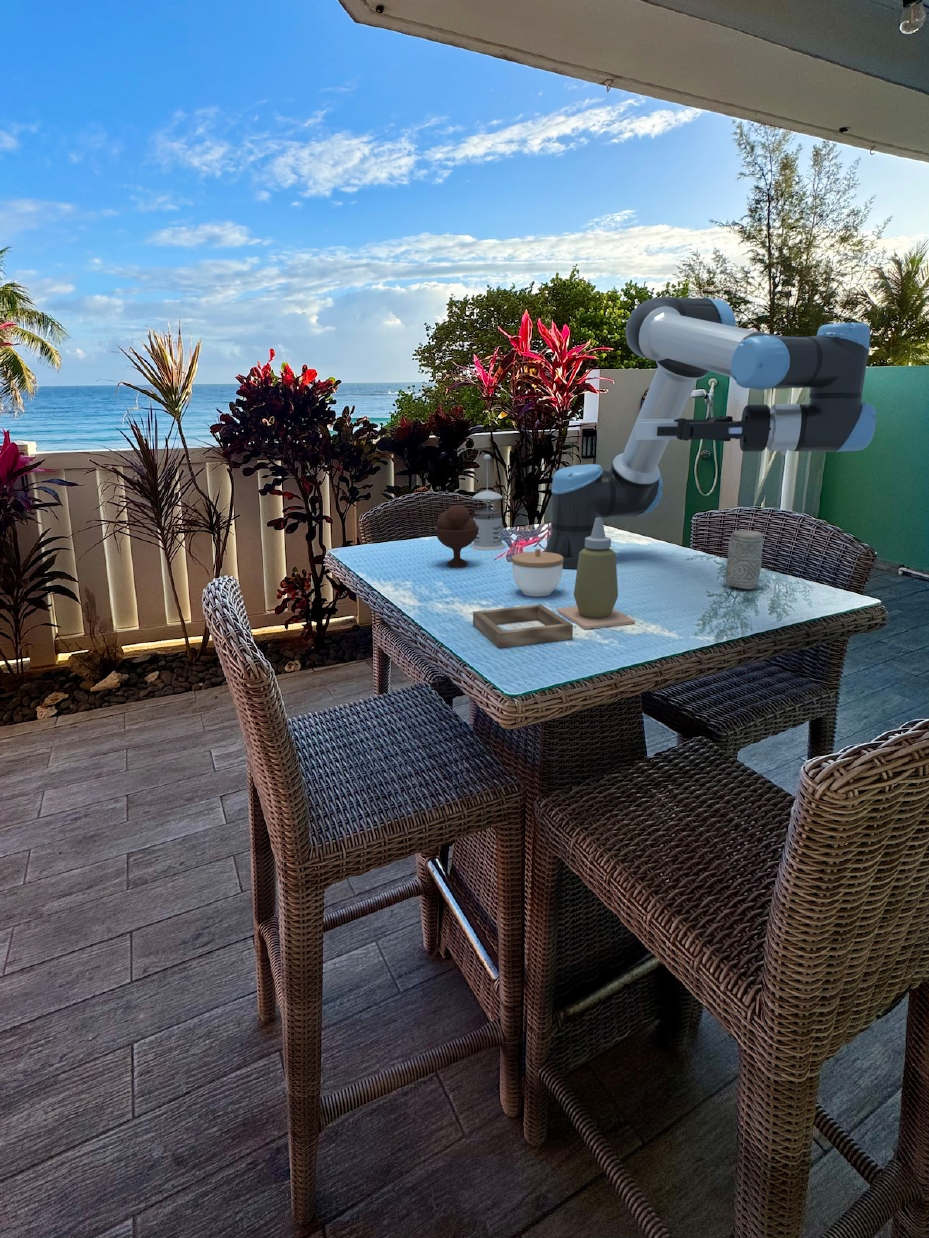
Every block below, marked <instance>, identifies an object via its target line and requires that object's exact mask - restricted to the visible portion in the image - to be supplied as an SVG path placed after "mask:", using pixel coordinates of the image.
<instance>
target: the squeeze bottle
mask: <svg viewBox="0 0 929 1238" xmlns="http://www.w3.org/2000/svg"><path fill="white" fill-rule="evenodd" d="M611 546H612V538H611V537H608V536H606V531H605V525H604V521H603V518H595V522H594V526H593V530H592V534H591V536H590V537H586V538H585V547H586V548H584V549H583V550H581V551H580V552H579V559H578V566H577V568H576V576H575V582H574V583H575V584H574V590H573V597H574V601H575V604H576V606H577V607H578V611H579V613H580V614H581V615H583V616H586V617H592V618H602V617H607V616H610V615H611V613H612V610H613V609H615V608H614V607H615V605H616V602H617V601H618V597H619V591H618V590H619V588H618V573H617V571H618V570H617V555H616V554H617V553H616V552H615V550H613V549H612V548H611Z"/></svg>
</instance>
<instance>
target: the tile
mask: <svg viewBox="0 0 929 1238" xmlns="http://www.w3.org/2000/svg"><path fill="white" fill-rule="evenodd" d="M556 612H557V613H558V614H559V615H561V616H563V617H564V616H565V617H564V618H566V619H567V620H569V619H570V620H569V621H571V622H572V621H573V622H572V623H574V624H575V623H576V624H575V625H577V624H578V625H577V626H579V627H580V626H581V627H580V628H581V629H583V628H584V629H583V630H585V629H587V630H592V629H591V628H595V629H600V628H599V627H604V628H607V627H606V626H612V627H619V626H626V625H625V624H628V625H633V624H632V623H635V624H636V620H635V619H633V618H631V617H629V616H628V615H626V614H625V613H621V612H620V611H618V610H616V609H615V608H613V610H612V613H611V615H610V616H607V617H602V618H592V617H586V616H583V615H581V614H580V613H579V611H578V607H577V605H576V606H568V607H567V606H566V607H557V608H556Z"/></svg>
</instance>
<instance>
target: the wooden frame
mask: <svg viewBox="0 0 929 1238" xmlns="http://www.w3.org/2000/svg"><path fill="white" fill-rule="evenodd" d="M528 621H539V622H540V623H542V624H543V625H542V626H540V625H539V626H533V627H524V628H514V629H507V630H503V629H501V628H500V627H499V626H498V625H503V623H504V624H511V623H519V622H528ZM472 625H473V626H474V627H475V628H476V629H477V630H478V631H479V632H481V633H482V635H484V636H485V637H486V638H487V639H488V640H489V641H491V642H492V643H493V645H495V646H496V647H497V648H498V649H500V648H501V649H503V648H509V647H510V648H511V647H519V646H526V645H534V644H542V643H550V642H559V641H565V640H567V641H568V640H573V637H574V636H573V634H574V633H573V632H574V630H573V629H574V625H573V624H572V623H571V622H569V620H566V619H564V618H563V617H561V616H560V615H558V614H557V613H556V612H553V611H552V610H550V609H549V608H547V607H546V606H544V605H543V604H542V603H541V604H532V605H522V606H512V607H506V608H505V607H504V608H495V609H486V610H485V609H484V610H477V611H473V612H472Z"/></svg>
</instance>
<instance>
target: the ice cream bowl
mask: <svg viewBox="0 0 929 1238" xmlns="http://www.w3.org/2000/svg"><path fill="white" fill-rule="evenodd" d="M478 529H479V527H478V525H476V523H475V520H473V517H471V516H470V511H469V510H468V508H467V507H466V506H465V505H461V504H454V505H452V506H450V507H449V508H448V509H447V510H446V511H443V512H442V513H441V514H440V515H439V516H438V518H437V521H436V526H434V532H435V536H436V538H437V540H438V542H440V543H441V544H442V545H443V546H445V547H447V548H448V549H452V551H453V558H451V559H450V560H449V561H447V562H446V567H448V566H449V567H448V568H457V569H459V568H465V567H468V566H469V564H468V561H466V560H465V559H463V558H462V557H461V551H462V550H463V549H464V548H466V547H468V546H469V545H470V546H471V545H472V544H473V543H474V540H475V539H476V536H477V534H478ZM467 565H468V566H467Z"/></svg>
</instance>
